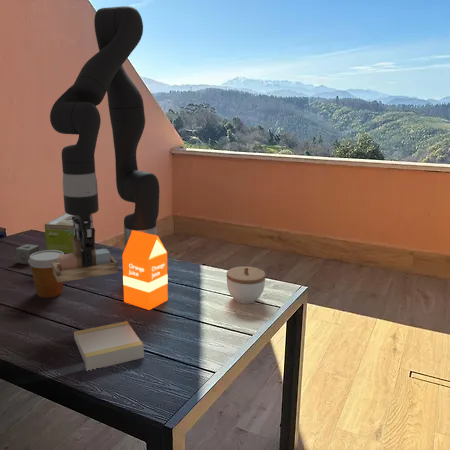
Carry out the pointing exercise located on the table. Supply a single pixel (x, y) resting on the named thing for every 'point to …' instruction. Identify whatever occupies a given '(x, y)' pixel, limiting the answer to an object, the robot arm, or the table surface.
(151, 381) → the table surface
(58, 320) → the table surface
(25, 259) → the dice cube
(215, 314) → the table surface
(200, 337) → the table surface
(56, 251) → the disposable coffee cup
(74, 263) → the block
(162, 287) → the orange juice
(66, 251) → the tea box
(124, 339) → the strip
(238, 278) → the lidded jar
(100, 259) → the block
